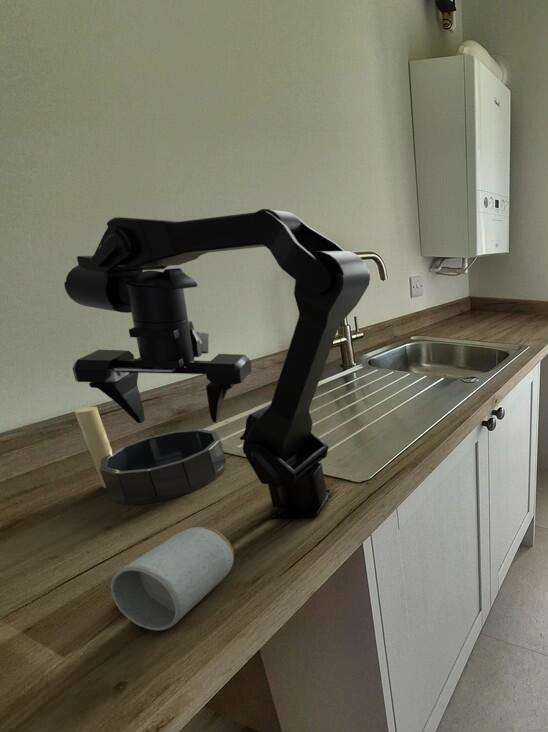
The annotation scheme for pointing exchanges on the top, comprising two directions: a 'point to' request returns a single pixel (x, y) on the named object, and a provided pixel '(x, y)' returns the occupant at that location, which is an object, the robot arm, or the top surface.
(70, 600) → the top surface
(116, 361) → the robot arm
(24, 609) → the top surface
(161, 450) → the grey faceted ring
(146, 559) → the pale grey cup
